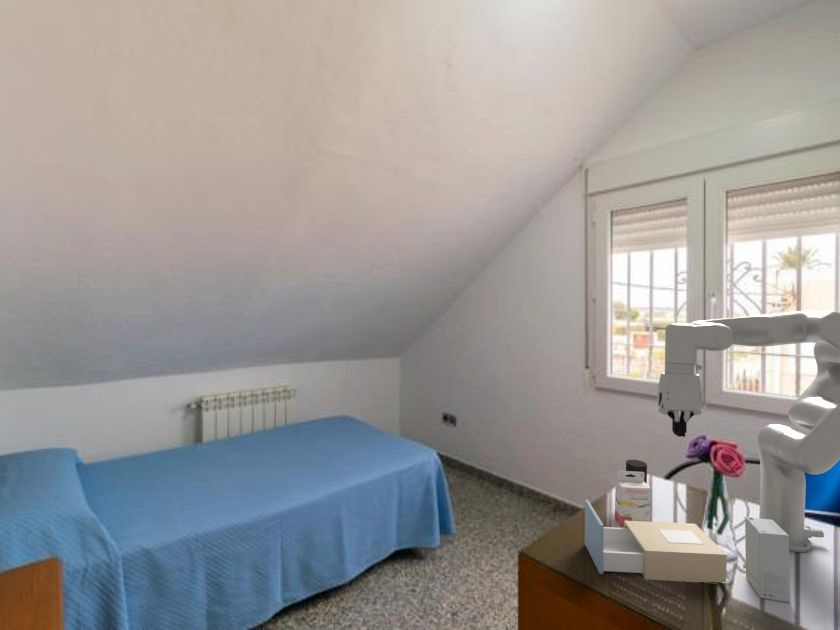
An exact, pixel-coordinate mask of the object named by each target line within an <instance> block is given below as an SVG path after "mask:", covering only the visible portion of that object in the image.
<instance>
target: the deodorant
mask: <svg viewBox="0 0 840 630" xmlns="http://www.w3.org/2000/svg"><path fill="white" fill-rule="evenodd" d="M625 471H634V472H644V473H645V475H644V482H645V483H646V484H647V485H648V464H647V462H645V461H642V460H639V459H628V460H626V461H625ZM626 477H635V475H632V474H630V475H626Z"/></svg>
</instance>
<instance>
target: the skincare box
mask: <svg viewBox="0 0 840 630" xmlns="http://www.w3.org/2000/svg"><path fill="white" fill-rule="evenodd" d="M744 528H745V529H744V532H745V534H744V535H745V539H744V541H745V578H746V579H747V581H748V582H749V584H750V585H751V586H752V588H753V590H754V591H755V592H756V593H757V594H758V596H759V597H760V598H761V599H767V600H768V599H769V600H771V601H772V600H773V601H777V602H781V603H782V602H783V603H789V604H790V603H791V577H790V576H791V573H790V567H791V566H790V551H789V535H788V534H787V533H786V532H785V531H784V530H782V529H781V528H780V527H779V526H778V525H777V524H776V523H775V522H774V521H773V520H770V519H760V518H759V517H748V516H747V517H744Z"/></svg>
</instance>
